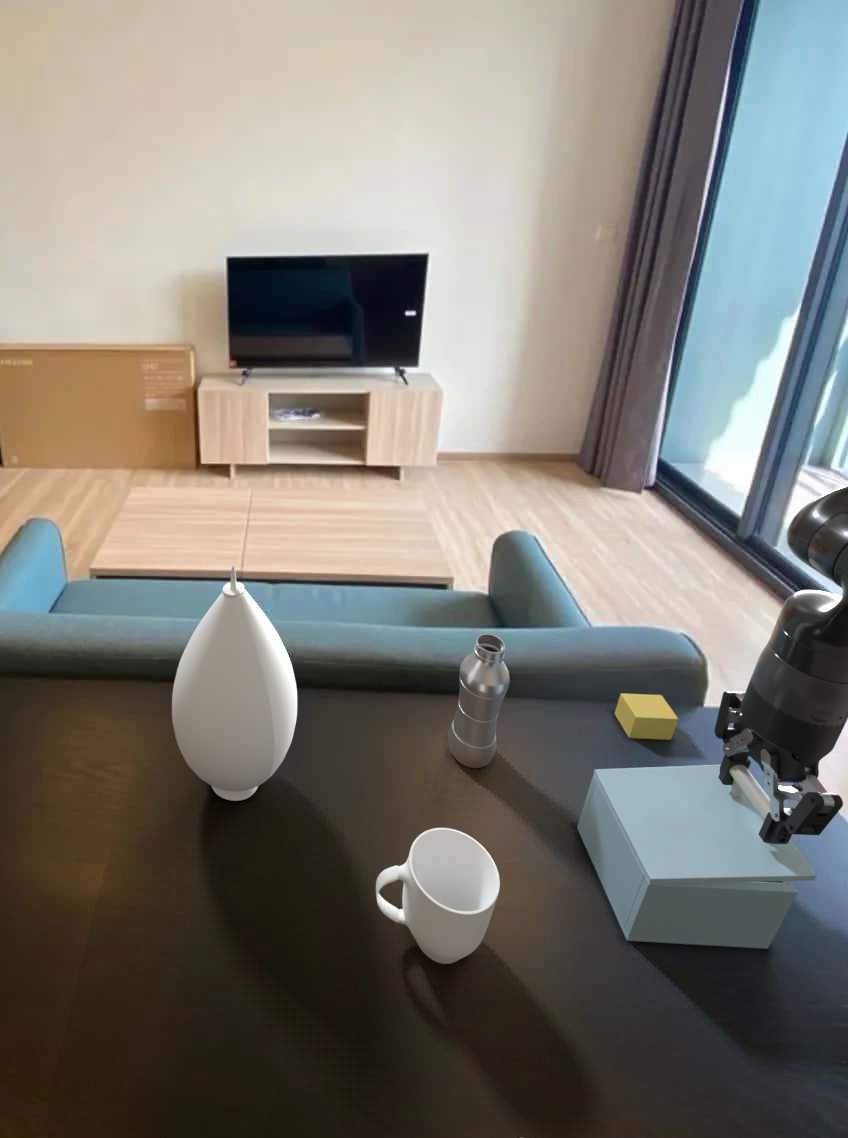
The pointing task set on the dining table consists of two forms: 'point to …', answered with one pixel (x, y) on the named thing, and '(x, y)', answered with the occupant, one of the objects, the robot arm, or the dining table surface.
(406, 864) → the mug
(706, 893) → the light blue box
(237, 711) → the lamp
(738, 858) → the box lid
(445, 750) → the dining table surface
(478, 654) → the silver metal bottle
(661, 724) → the sponge
